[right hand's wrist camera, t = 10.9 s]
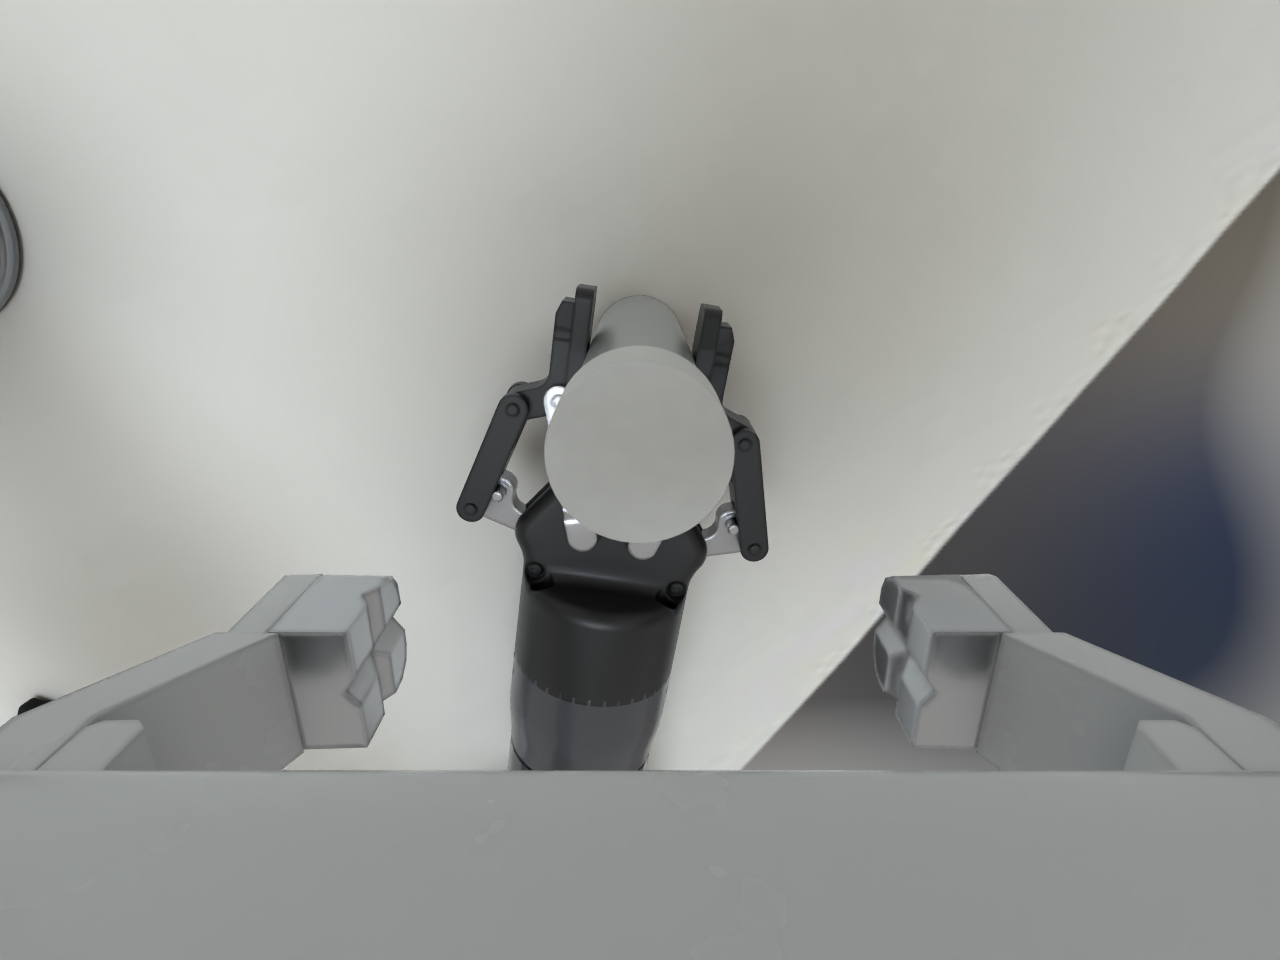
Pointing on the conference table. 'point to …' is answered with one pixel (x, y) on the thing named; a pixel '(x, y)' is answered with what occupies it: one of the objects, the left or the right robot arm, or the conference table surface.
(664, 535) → the lid
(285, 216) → the conference table surface
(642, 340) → the grey cylinder
